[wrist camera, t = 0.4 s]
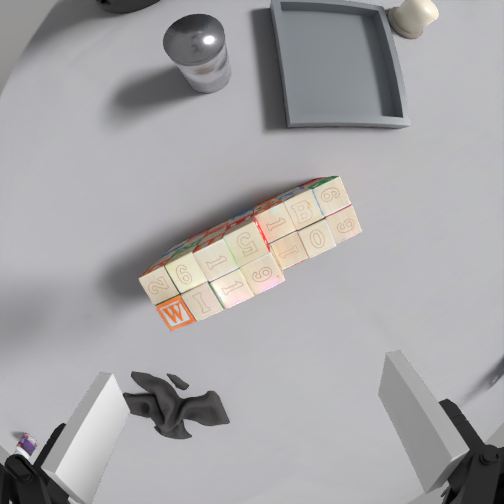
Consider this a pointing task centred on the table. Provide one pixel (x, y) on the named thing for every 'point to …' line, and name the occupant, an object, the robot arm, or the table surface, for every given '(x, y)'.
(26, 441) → the pill bottle
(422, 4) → the door knob
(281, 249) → the stack of blocks
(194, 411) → the cloth
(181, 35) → the shaker
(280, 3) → the tray
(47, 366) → the table surface
